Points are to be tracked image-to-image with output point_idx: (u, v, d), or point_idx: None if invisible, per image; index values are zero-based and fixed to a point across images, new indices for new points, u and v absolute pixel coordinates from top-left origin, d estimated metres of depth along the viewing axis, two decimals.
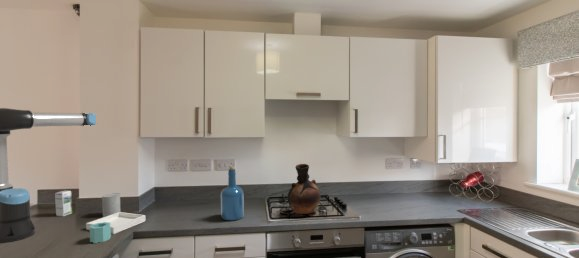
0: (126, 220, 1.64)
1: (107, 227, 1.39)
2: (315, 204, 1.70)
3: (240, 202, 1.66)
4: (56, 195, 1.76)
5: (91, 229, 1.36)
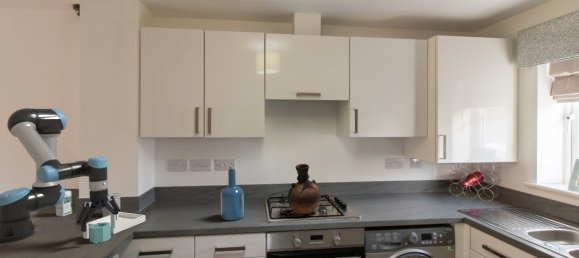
0: (126, 220, 1.64)
1: (107, 227, 1.39)
2: (315, 204, 1.70)
3: (240, 202, 1.66)
4: None
5: (91, 229, 1.36)
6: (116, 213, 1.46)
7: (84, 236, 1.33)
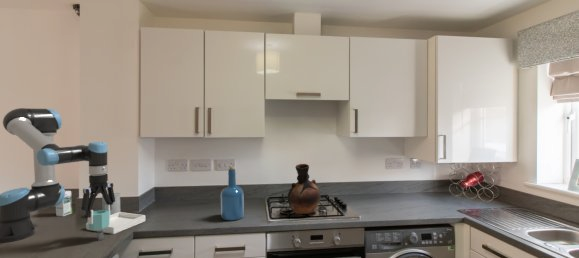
0: (126, 220, 1.64)
1: (106, 214, 1.39)
2: (315, 204, 1.70)
3: (240, 202, 1.66)
4: None
5: None
6: (110, 203, 1.44)
7: (88, 222, 1.36)
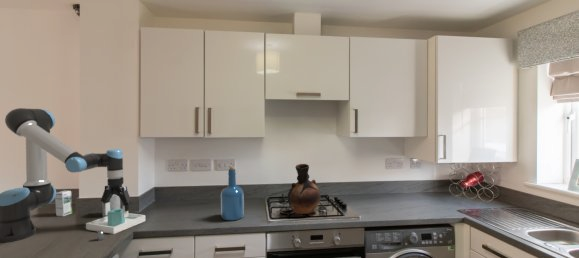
0: (126, 220, 1.64)
1: None
2: (315, 204, 1.70)
3: (240, 202, 1.66)
4: (56, 195, 1.76)
5: (121, 213, 1.57)
6: None
7: (125, 215, 1.56)
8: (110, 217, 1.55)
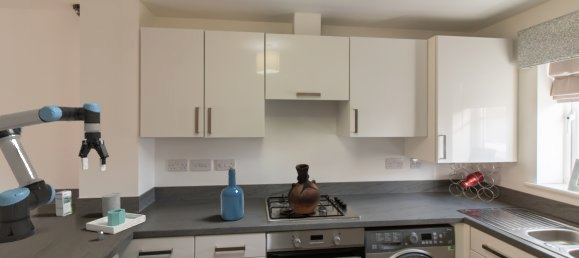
0: (126, 220, 1.64)
1: None
2: (315, 204, 1.70)
3: (240, 202, 1.66)
4: (56, 195, 1.76)
5: (121, 213, 1.57)
6: (86, 156, 1.62)
7: (102, 169, 1.55)
8: (110, 217, 1.55)
